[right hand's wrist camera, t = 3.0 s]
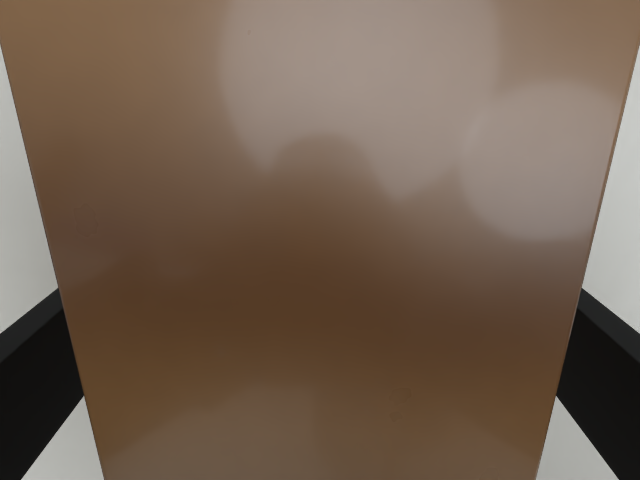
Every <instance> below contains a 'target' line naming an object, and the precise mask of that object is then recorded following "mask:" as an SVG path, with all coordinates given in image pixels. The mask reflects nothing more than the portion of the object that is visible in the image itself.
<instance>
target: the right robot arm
mask: <svg viewBox="0 0 640 480" xmlns="http://www.w3.org/2000/svg"><path fill="white" fill-rule="evenodd" d="M83 396H84V393H83V388H82V384H81V380H80V376H79V372H78V367H77V363H76V359H75V355H74V351H73V347H72V342H71V338H70V334H69V330H68V326H67V321H66V317H65V313H64V309H63V305H62V300H61V296H60V292H59V288H57V289H56V290H55V291H54V292H52V293H51V294H50V295H49V296H47V297H46V298H45V299H44V300H42V301H41V302H40V303H39V304H37V305H36V306H35V307H34V308H32V309H31V310H30V311H28V312H27V313H26V314H25V315H23V316H22V317H21V318H20V319H18V320H17V321H16V322H15V323H13V324H12V325H11V326H10V327H8V328H7V329H6V330H5V331H3V332H2V333H1V334H0V480H21V479H22V478H23V476H24V475H25V474H26V472H27V471H28V470H29V468H30V467H31V466H32V464H33V463H34V462H35V460H36V459H37V458H38V456H39V455H40V453H41V452H42V451H43V449H44V448H45V447H46V445H47V444H48V443H49V441H50V440H51V439H52V437H53V436H54V435H55V433H56V432H57V431H58V429H59V428H60V427H61V425H62V424H63V423H64V421H65V420H66V419H67V417H68V416H69V415H70V413H71V412H72V411H73V409H74V408H75V407H76V405H77V404H78V403H79V401H80V400H81V399H82V397H83ZM556 396H557V397H558V399H559V400H560V401H561V403H562V404H563V405H564V407H565V408H566V409H567V411H568V412H569V413H570V415H571V416H572V417H573V419H574V420H575V421H576V423H577V424H578V425H579V427H580V428H581V429H582V431H583V432H584V433H585V435H586V436H587V437H588V439H589V440H590V441H591V443H592V444H593V445H594V447H595V448H596V449H597V451H598V452H599V454H600V455H601V456H602V458H603V459H604V460H605V462H606V463H607V464H608V466H609V467H610V468H611V470H612V471H613V472H614V474H615V475H616V476H617V478H618V479H619V480H640V334H639V333H638V332H637V331H635V330H634V329H633V328H632V327H630V326H629V325H628V324H627V323H625V322H624V321H623V320H622V319H620V318H619V317H618V316H617V315H615V314H614V313H613V312H611V311H610V310H609V309H608V308H606V307H605V306H604V305H603V304H601V303H600V302H599V301H598V300H596V299H595V298H594V297H593V296H591V295H590V294H589V293H588V292H586V291H585V290H584V289H583V288H581V292H580V296H579V300H578V305H577V309H576V313H575V317H574V321H573V325H572V330H571V334H570V338H569V342H568V346H567V351H566V355H565V359H564V363H563V367H562V372H561V376H560V380H559V384H558V388H557V393H556Z"/></svg>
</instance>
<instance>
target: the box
mask: <svg viewBox="0 0 640 480" xmlns="http://www.w3.org/2000/svg"><path fill="white" fill-rule="evenodd" d="M0 45H1V49H2V53H3V57H4V62H5V66H6V70H7V74H8V78H9V83H10V87H11V91H12V95H13V99H14V103H15V108H16V112H17V116H18V120H19V124H20V129H21V133H22V137H23V141H24V145H25V150H26V154H27V158H28V162H29V166H30V171H31V175H32V179H33V183H34V187H35V191H36V196H37V200H38V204H39V208H40V212H41V217H42V221H43V225H44V229H45V233H46V238H47V242H48V246H49V250H50V254H51V259H52V263H53V267H54V271H55V275H56V279H57V284H58V288H59V292H60V296H61V300H62V305H63V309H64V313H65V317H66V321H67V326H68V330H69V334H70V338H71V342H72V347H73V351H74V355H75V359H76V363H77V367H78V372H79V376H80V380H81V384H82V388H83V393H84V397H85V401H86V405H87V409H88V414H89V418H90V422H91V426H92V430H93V435H94V439H95V443H96V447H97V451H98V455H99V460H100V464H101V468H102V472H103V476H104V480H536V476H537V472H538V468H539V464H540V460H541V455H542V451H543V447H544V443H545V439H546V434H547V430H548V426H549V422H550V418H551V414H552V409H553V405H554V401H555V397H556V393H557V388H558V384H559V380H560V376H561V372H562V367H563V363H564V359H565V355H566V351H567V346H568V342H569V338H570V334H571V330H572V325H573V321H574V317H575V313H576V309H577V305H578V300H579V296H580V292H581V288H582V284H583V279H584V275H585V271H586V267H587V263H588V258H589V254H590V250H591V246H592V242H593V237H594V233H595V229H596V225H597V221H598V217H599V212H600V208H601V204H602V200H603V196H604V191H605V187H606V183H607V179H608V175H609V170H610V166H611V162H612V158H613V154H614V149H615V145H616V141H617V137H618V133H619V128H620V124H621V120H622V116H623V112H624V108H625V103H626V99H627V95H628V91H629V87H630V82H631V78H632V74H633V70H634V66H635V61H636V57H637V53H638V49H639V45H640V0H0Z"/></svg>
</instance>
